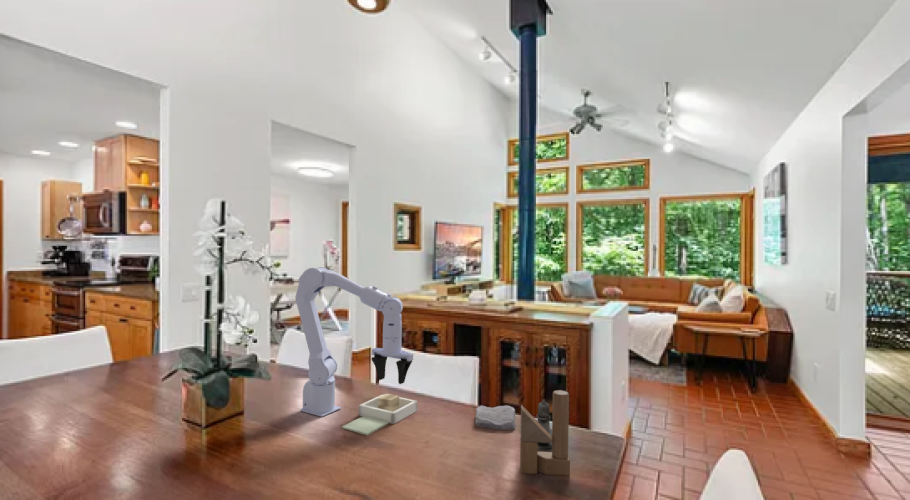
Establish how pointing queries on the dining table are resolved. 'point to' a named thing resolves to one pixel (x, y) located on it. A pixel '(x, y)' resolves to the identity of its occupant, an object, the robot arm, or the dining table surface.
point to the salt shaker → (544, 423)
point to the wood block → (388, 402)
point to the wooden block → (546, 440)
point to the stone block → (496, 417)
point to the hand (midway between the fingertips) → (391, 381)
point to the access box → (391, 417)
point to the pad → (365, 425)
